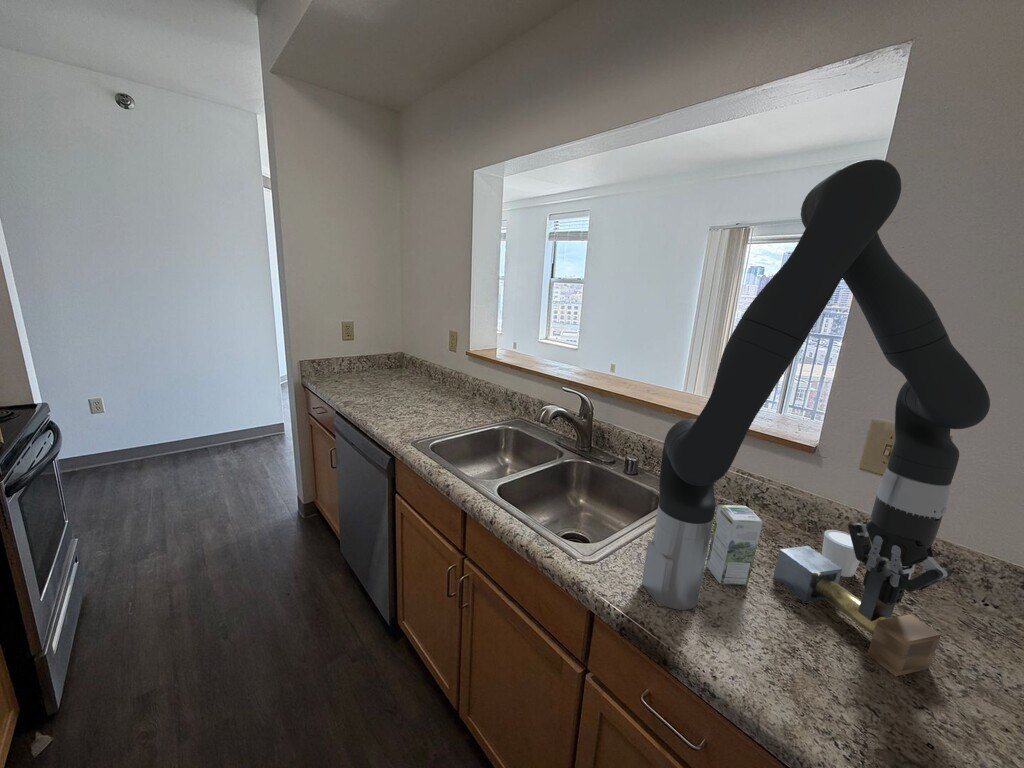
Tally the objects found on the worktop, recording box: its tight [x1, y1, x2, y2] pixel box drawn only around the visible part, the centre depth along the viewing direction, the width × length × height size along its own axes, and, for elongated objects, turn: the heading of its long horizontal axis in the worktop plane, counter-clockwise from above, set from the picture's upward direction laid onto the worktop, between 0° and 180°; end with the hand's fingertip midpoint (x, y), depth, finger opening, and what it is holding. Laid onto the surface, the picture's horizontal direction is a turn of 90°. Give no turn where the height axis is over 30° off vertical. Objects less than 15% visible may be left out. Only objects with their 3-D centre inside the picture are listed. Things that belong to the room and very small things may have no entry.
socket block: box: [866, 614, 942, 677], centre depth 64 cm, size 4×7×6 cm, turn 104°
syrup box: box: [705, 504, 764, 586], centre depth 80 cm, size 6×6×14 cm
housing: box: [773, 545, 842, 604], centre depth 79 cm, size 7×7×6 cm
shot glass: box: [821, 529, 861, 578], centre depth 86 cm, size 7×7×7 cm
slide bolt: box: [816, 564, 896, 636], centre depth 69 cm, size 13×4×12 cm, turn 14°
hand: (879, 596), depth 67 cm, fingers closed on slide bolt, 2 cm apart
